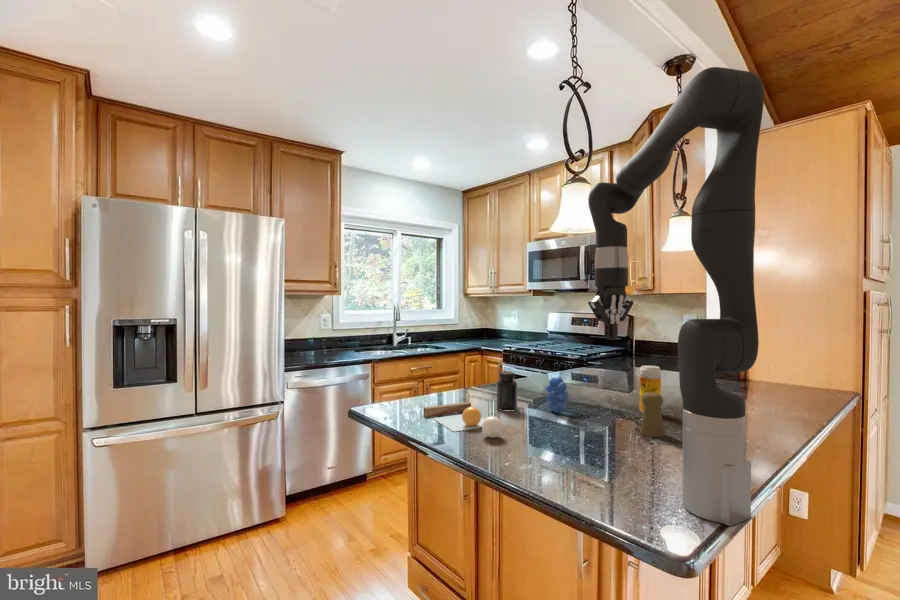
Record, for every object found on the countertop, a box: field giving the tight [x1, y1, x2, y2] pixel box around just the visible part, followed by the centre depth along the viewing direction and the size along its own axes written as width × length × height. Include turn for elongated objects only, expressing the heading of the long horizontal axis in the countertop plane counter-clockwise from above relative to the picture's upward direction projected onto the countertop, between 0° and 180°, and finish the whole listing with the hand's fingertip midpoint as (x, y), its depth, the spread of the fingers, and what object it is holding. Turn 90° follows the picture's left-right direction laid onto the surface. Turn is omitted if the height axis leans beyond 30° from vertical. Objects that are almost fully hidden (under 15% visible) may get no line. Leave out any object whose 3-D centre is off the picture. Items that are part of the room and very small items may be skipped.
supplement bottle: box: [496, 371, 518, 411], centre depth 140 cm, size 7×7×12 cm
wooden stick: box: [422, 401, 472, 418], centre depth 135 cm, size 2×16×2 cm, turn 116°
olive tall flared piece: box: [639, 393, 665, 438], centre depth 115 cm, size 6×6×11 cm
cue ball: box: [481, 415, 504, 439], centre depth 111 cm, size 6×6×6 cm
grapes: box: [545, 376, 569, 414], centre depth 135 cm, size 12×7×12 cm, turn 14°
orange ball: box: [461, 406, 482, 427], centre depth 121 cm, size 6×6×6 cm
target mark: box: [432, 413, 486, 433], centre depth 125 cm, size 14×14×1 cm
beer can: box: [639, 364, 662, 415], centre depth 135 cm, size 6×6×15 cm
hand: (611, 339), depth 101 cm, fingers closed
